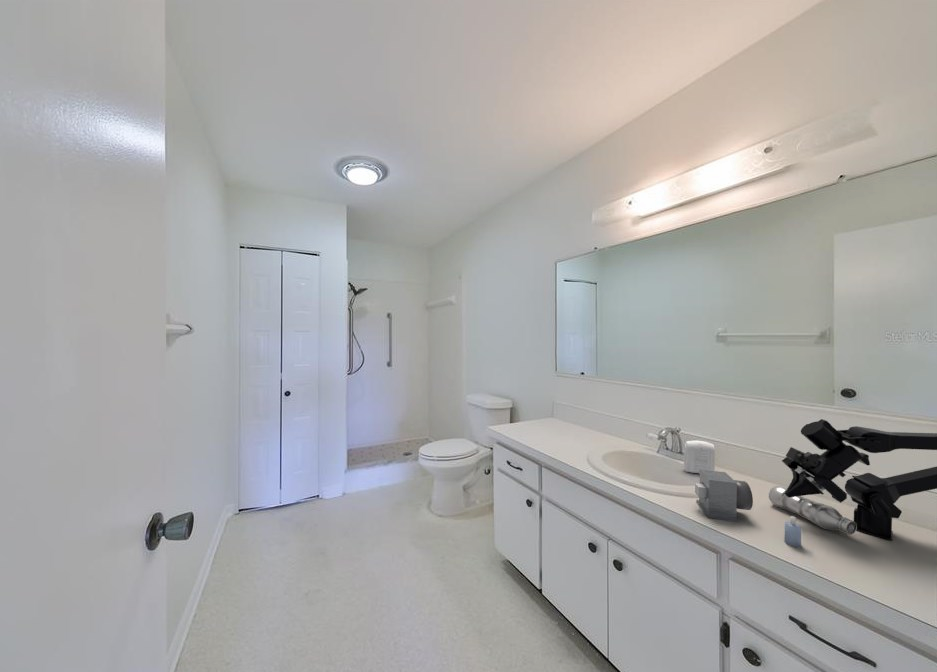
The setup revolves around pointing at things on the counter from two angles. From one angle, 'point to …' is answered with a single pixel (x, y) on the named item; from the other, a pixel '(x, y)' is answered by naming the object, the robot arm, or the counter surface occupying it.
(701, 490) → the knob
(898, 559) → the counter surface
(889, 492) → the robot arm
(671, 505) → the counter surface
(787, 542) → the small blue bottle
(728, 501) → the mount
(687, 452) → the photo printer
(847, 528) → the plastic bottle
